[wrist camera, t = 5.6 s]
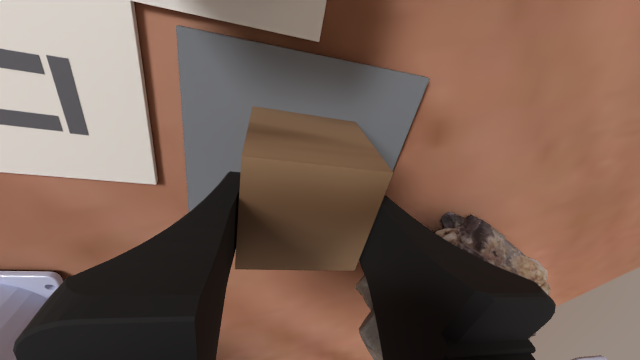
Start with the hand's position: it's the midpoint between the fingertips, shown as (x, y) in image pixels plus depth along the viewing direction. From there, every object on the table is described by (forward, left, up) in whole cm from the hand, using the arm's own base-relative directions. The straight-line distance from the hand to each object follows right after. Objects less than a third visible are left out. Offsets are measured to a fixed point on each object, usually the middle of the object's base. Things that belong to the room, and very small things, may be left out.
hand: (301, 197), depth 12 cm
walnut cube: (0, 0, -3) cm, 3 cm away
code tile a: (+2, +11, -3) cm, 12 cm away
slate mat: (0, 0, -3) cm, 3 cm away
